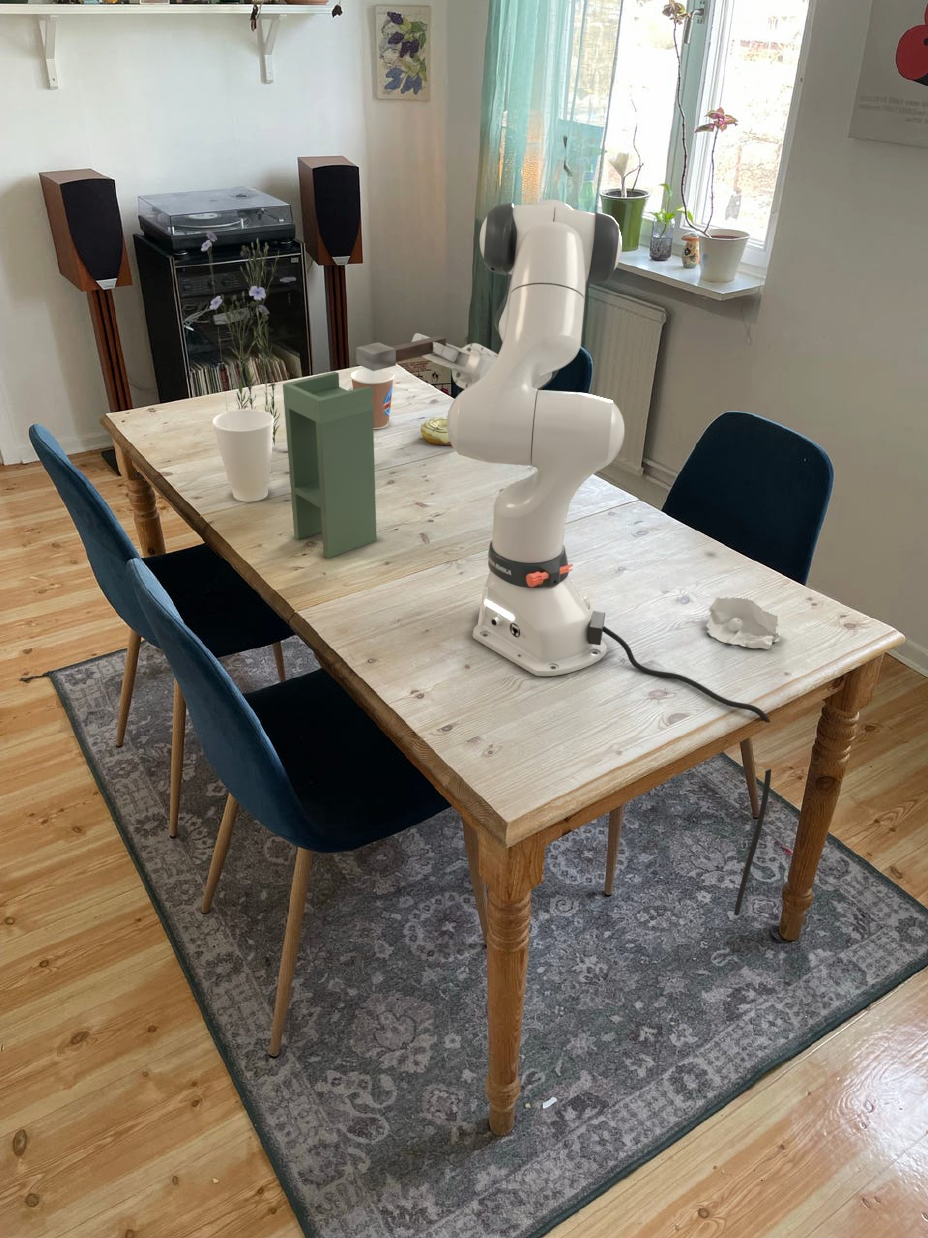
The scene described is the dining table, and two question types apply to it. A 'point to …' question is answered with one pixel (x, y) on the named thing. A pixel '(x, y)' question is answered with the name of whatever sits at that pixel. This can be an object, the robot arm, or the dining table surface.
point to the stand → (331, 462)
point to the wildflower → (258, 294)
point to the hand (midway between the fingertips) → (427, 343)
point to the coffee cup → (376, 392)
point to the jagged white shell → (742, 623)
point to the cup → (246, 451)
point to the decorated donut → (436, 431)
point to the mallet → (393, 353)
